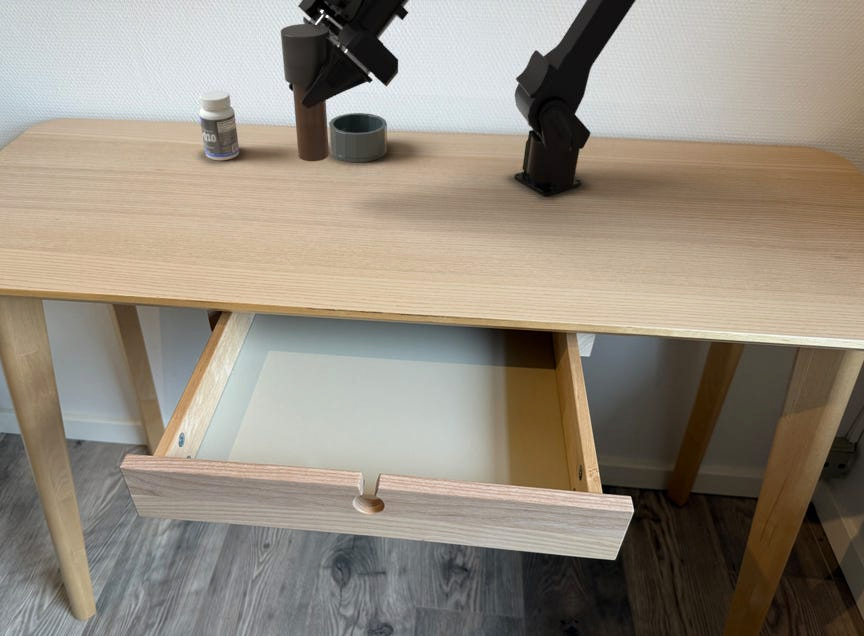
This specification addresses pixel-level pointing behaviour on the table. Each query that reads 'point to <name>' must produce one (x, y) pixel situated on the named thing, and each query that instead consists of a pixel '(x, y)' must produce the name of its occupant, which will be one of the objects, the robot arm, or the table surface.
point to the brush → (306, 85)
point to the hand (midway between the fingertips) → (297, 97)
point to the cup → (358, 137)
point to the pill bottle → (218, 125)
